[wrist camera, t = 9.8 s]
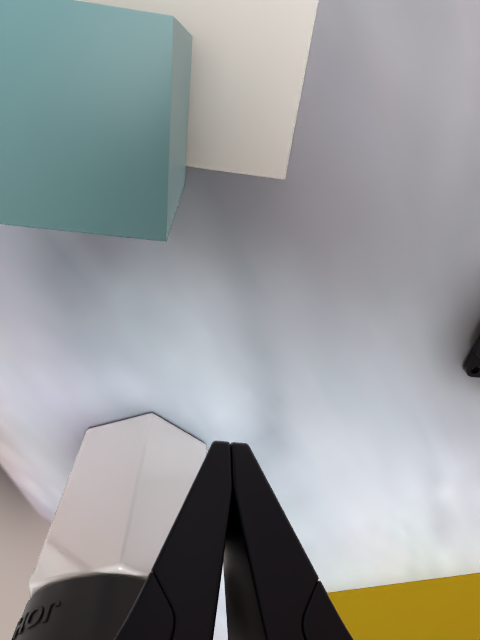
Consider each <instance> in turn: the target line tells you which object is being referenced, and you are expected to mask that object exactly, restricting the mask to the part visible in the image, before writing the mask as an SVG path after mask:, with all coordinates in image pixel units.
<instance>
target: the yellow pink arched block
mask: <svg viewBox="0 0 480 640" xmlns="http://www.w3.org/2000/svg"><path fill="white" fill-rule="evenodd" d="M327 594H328V596H329V598H330V600H331V602H332V603H333V605H334V607H335V609H336V610H337V612H338V614H339V616H340V618H341V619H342V621H343V623H344V625H345V626H346V628H347V630H348V631H349V633H350V634H351V636H352V638H353V639H354V640H480V573H475V574H468V575H460V576H452V577H445V578H437V579H430V580H422V581H414V582H407V583H399V584H391V585H384V586H376V587H369V588H361V589H353V590H346V591H338V592H331V593H327Z"/></svg>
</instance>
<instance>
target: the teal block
mask: <svg viewBox="0 0 480 640" xmlns="http://www.w3.org/2000/svg"><path fill="white" fill-rule="evenodd" d="M192 37H193V36H192V35H191V34H190V33H189V32H188V31H187V30H186V29H185V28H184V27H183V26H182V25H181V24H180V22H179V21H178V20H177V19H176V18H175V17H174V16H170V15H164V14H158V13H152V12H145V11H139V10H133V9H127V8H120V7H114V6H108V5H102V4H95V3H89V2H83V1H77V0H0V224H5V225H14V226H24V227H33V228H43V229H52V230H62V231H71V232H81V233H90V234H100V235H109V236H119V237H128V238H138V239H147V240H157V241H167V238H168V235H169V232H170V229H171V226H172V222H173V219H174V216H175V213H176V210H177V207H178V204H179V201H180V198H181V195H182V192H183V189H184V185H185V170H186V151H187V132H188V113H189V94H190V75H191V56H192Z"/></svg>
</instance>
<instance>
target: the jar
mask: <svg viewBox="0 0 480 640" xmlns="http://www.w3.org/2000/svg"><path fill="white" fill-rule="evenodd" d="M205 457H206V445H205V444H204V443H203V442H201V441H199V440H198V439H196V438H194V437H192V436H191V435H189V434H187V433H186V432H184V431H182V430H181V429H179V428H177V427H175V426H174V425H172V424H170V423H169V422H167V421H165V420H163V419H162V418H160V417H158V416H157V415H155V414H153V413H149V414H145V415H141V416H137V417H133V418H129V419H125V420H121V421H118V422H114V423H110V424H106V425H102V426H98V427H94V428H90V429H88V430H87V431H86V433H85V436H84V438H83V441H82V444H81V446H80V449H79V451H78V454H77V457H76V459H75V462H74V465H73V467H72V470H71V473H70V475H69V478H68V481H67V483H66V486H65V489H64V491H63V494H62V497H61V499H60V502H59V505H58V507H57V510H56V513H55V515H54V518H53V521H52V523H51V526H50V529H49V531H48V534H47V537H46V539H45V542H44V545H43V547H42V550H41V553H40V555H39V558H38V561H37V563H36V566H35V568H34V571H33V574H32V577H31V579H30V582H29V592H30V600H29V601H28V603H27V605H26V607H25V610H24V613H23V615H22V618H21V619H20V621H19V622H18V624H17V627H16V629H15V632H14V635H13V638H12V640H114V639H115V637H116V635H117V633H118V632H119V630H120V628H121V627H122V625H123V623H124V622H125V620H126V618H127V616H128V614H129V612H130V611H131V609H132V607H133V605H134V603H135V601H136V599H137V597H138V595H139V593H140V591H141V589H142V587H143V585H144V583H145V581H146V579H147V577H148V575H149V573H150V572H151V569H152V567H153V565H154V563H155V561H156V559H157V557H158V554H159V552H160V550H161V548H162V546H163V544H164V542H165V540H166V538H167V536H168V534H169V532H170V530H171V528H172V525H173V523H174V521H175V519H176V517H177V515H178V513H179V511H180V509H181V507H182V505H183V503H184V501H185V498H186V496H187V494H188V492H189V490H190V488H191V486H192V484H193V482H194V480H195V478H196V476H197V474H198V471H199V469H200V467H201V465H202V463H203V461H204V459H205Z"/></svg>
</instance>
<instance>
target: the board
mask: <svg viewBox="0 0 480 640" xmlns="http://www.w3.org/2000/svg"><path fill="white" fill-rule="evenodd" d="M77 1H83V2H89V3H95V4H102V5H108V6H114V7H120V8H127V9H133V10H139V11H145V12H152V13H158V14H164V15H170V16H174V17H175V18H176V19H177V20H178V21H179V22H180V24H181V25H182V26H183V27H184V28H185V29H186V30H187V31H188V32H189V33H190V34H191V35H192V36H193V37H192V56H191V75H190V94H189V113H188V132H187V151H186V167H193V168H201V169H208V170H216V171H224V172H231V173H239V174H246V175H254V176H262V177H269V178H277V179H284V180H285V177H286V171H287V166H288V161H289V155H290V150H291V145H292V139H293V134H294V129H295V123H296V118H297V113H298V107H299V102H300V96H301V91H302V86H303V80H304V75H305V70H306V64H307V59H308V54H309V48H310V43H311V38H312V32H313V27H314V22H315V16H316V11H317V6H318V0H77Z"/></svg>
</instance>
